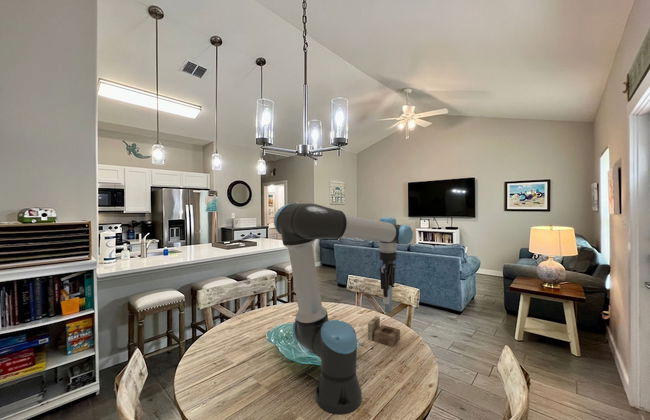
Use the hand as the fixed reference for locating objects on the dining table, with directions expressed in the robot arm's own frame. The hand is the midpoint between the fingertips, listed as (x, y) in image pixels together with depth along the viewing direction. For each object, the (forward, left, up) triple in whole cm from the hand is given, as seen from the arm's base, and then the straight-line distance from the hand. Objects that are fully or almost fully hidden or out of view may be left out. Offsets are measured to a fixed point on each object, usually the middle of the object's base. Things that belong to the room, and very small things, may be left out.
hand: (387, 302), depth 126 cm
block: (0, 0, -18) cm, 18 cm away
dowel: (0, 0, -4) cm, 4 cm away
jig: (0, 0, -19) cm, 19 cm away
